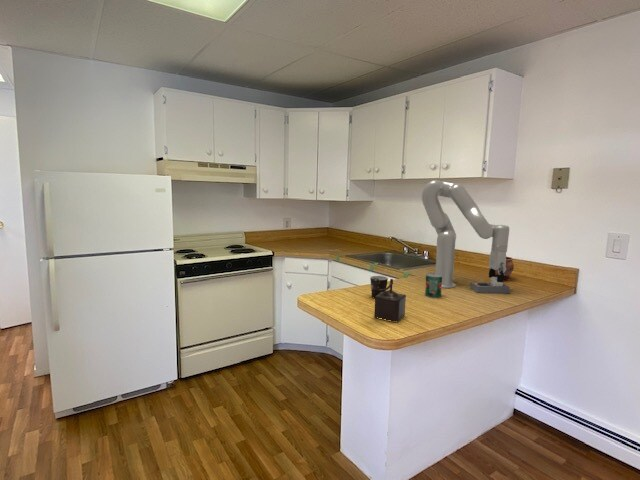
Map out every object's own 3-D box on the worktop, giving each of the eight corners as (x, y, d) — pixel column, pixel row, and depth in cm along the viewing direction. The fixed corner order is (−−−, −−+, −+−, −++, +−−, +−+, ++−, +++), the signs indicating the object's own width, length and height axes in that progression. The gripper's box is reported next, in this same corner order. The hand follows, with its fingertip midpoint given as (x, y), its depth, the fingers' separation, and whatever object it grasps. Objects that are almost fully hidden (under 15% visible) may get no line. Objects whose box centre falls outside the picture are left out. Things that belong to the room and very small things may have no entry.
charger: (493, 291, 192) (494, 278, 191) (490, 289, 197) (491, 276, 196) (502, 291, 192) (503, 278, 191) (498, 289, 196) (499, 276, 195)
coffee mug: (385, 300, 175) (386, 280, 174) (367, 298, 178) (368, 278, 177) (389, 294, 186) (390, 275, 184) (372, 292, 189) (373, 273, 187)
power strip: (476, 293, 190) (477, 285, 190) (465, 284, 206) (465, 278, 206) (509, 293, 190) (510, 286, 189) (495, 285, 206) (495, 278, 205)
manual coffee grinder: (381, 310, 161) (382, 271, 158) (405, 315, 155) (407, 274, 152) (367, 321, 147) (368, 278, 145) (393, 327, 142) (395, 282, 139)
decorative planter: (513, 284, 208) (515, 261, 206) (490, 282, 213) (491, 259, 212) (511, 277, 226) (513, 255, 224) (490, 275, 231) (491, 253, 229)
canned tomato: (443, 297, 181) (445, 276, 180) (429, 298, 180) (430, 276, 178) (436, 293, 189) (437, 272, 187) (422, 293, 188) (423, 273, 186)
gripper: (485, 245, 200) (481, 275, 202) (499, 251, 183) (496, 283, 185) (498, 245, 200) (495, 275, 202) (514, 251, 183) (510, 284, 185)
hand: (495, 279), depth 194 cm, fingers open, 9 cm apart
